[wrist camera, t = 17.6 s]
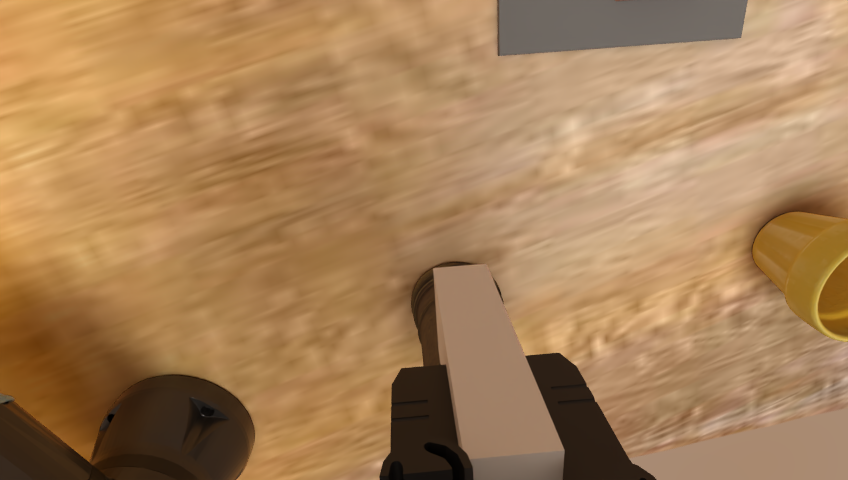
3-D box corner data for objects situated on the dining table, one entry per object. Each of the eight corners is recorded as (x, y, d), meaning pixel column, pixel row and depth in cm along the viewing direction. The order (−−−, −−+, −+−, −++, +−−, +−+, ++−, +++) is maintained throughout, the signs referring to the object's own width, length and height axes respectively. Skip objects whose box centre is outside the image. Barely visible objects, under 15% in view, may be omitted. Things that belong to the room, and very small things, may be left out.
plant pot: (830, 277, 48) (931, 329, 39) (731, 298, 49) (807, 355, 40) (843, 182, 44) (958, 216, 35) (735, 206, 45) (821, 245, 36)
